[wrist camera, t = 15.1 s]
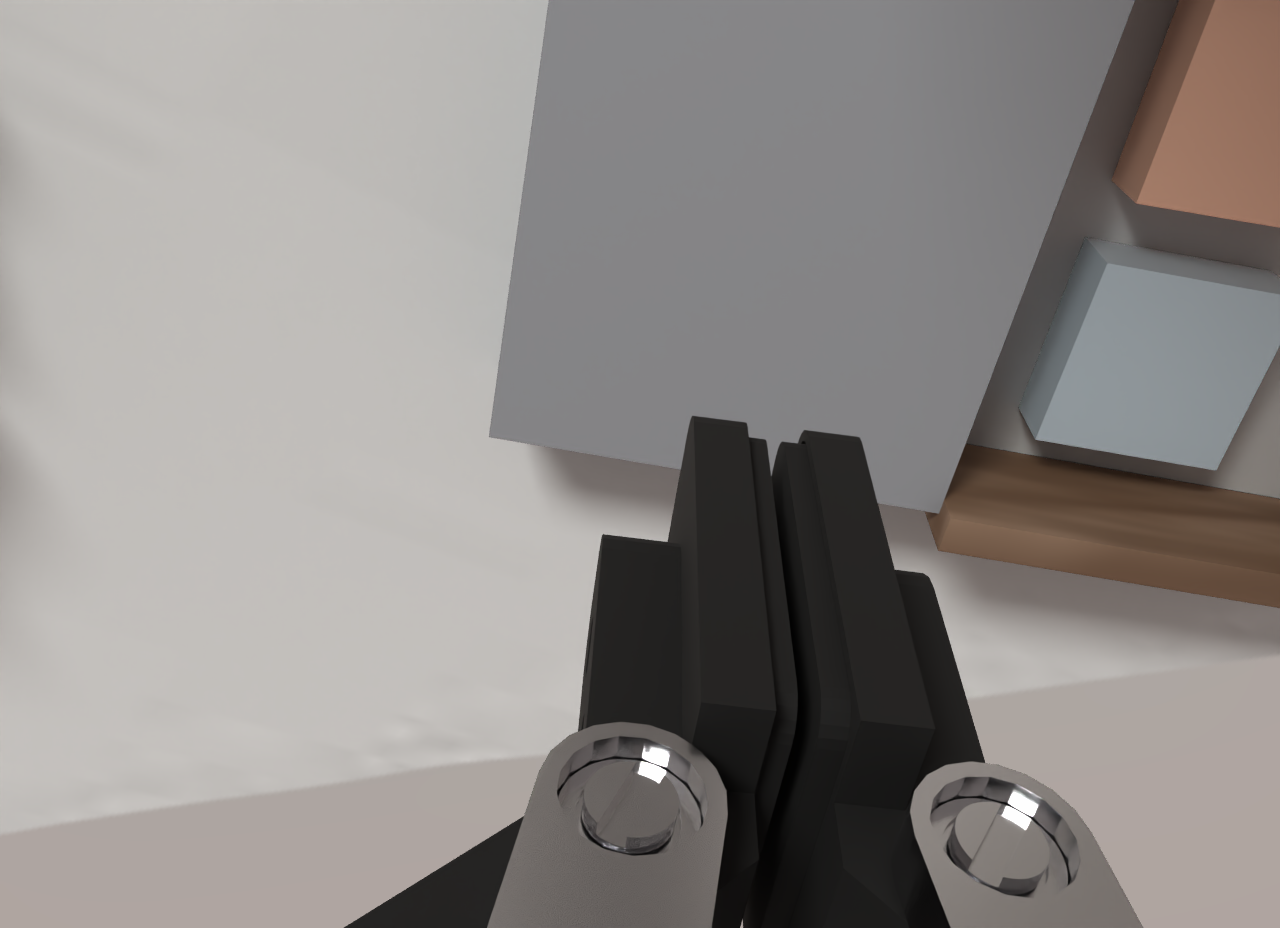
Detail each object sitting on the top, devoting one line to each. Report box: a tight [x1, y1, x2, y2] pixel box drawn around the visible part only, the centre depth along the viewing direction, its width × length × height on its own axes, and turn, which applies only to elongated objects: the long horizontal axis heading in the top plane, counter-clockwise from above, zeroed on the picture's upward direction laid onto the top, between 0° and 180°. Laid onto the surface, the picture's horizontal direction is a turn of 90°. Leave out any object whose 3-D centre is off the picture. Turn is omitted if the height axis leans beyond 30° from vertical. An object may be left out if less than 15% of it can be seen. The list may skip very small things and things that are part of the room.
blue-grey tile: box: [1018, 237, 1280, 471], centre depth 37 cm, size 6×6×2 cm
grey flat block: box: [489, 0, 1135, 514], centre depth 33 cm, size 19×14×4 cm
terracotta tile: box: [1112, 0, 1280, 228], centre depth 33 cm, size 6×6×2 cm
